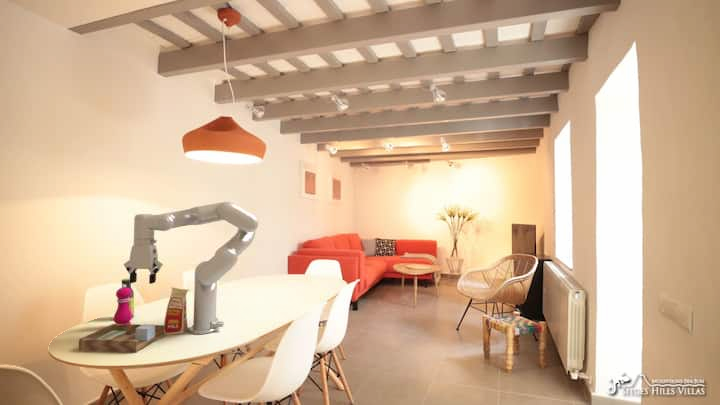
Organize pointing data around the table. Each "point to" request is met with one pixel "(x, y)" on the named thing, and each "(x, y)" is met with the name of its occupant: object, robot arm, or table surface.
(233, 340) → the table surface
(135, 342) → the brown wooden tray
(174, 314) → the paper food bag
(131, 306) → the sauce bottle
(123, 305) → the pepper mill
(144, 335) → the block
